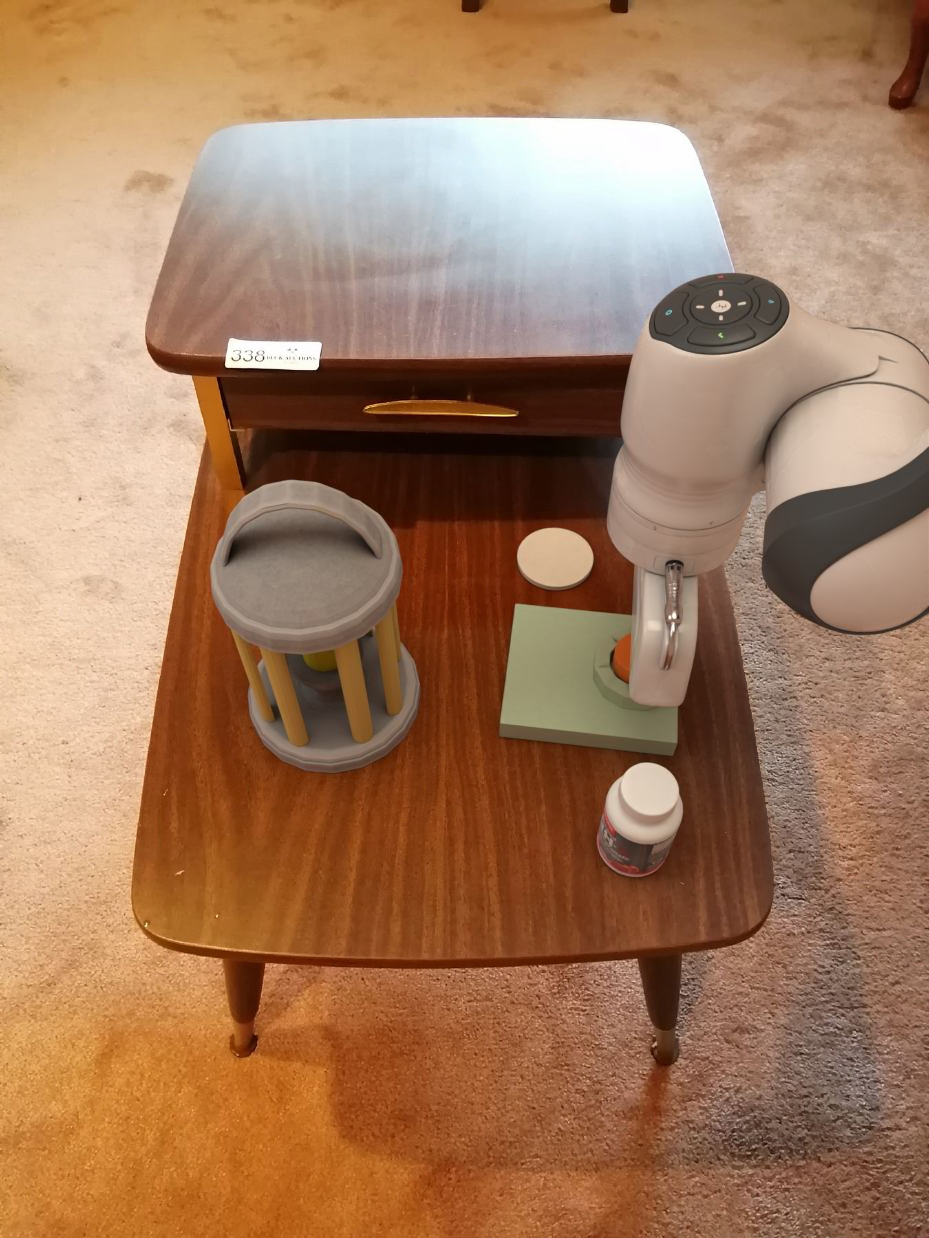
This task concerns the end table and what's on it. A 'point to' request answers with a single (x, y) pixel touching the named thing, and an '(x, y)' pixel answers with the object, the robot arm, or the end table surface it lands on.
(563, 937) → the end table surface
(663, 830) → the pill bottle
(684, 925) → the end table surface
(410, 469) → the end table surface
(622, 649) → the press button
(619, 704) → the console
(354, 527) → the lantern
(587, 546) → the coaster
